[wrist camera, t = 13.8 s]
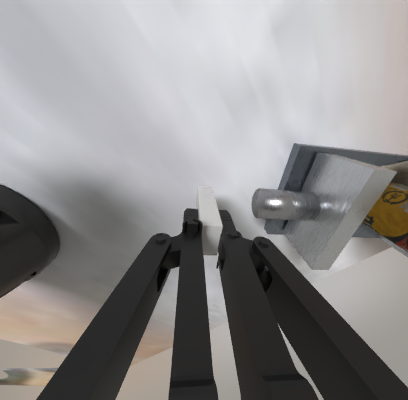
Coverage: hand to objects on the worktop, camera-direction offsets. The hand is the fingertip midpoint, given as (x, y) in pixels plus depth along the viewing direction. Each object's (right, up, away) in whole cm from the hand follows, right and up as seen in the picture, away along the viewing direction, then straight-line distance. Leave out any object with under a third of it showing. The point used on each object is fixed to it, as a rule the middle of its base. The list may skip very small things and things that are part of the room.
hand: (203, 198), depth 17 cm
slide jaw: (+10, 0, +3) cm, 10 cm away
